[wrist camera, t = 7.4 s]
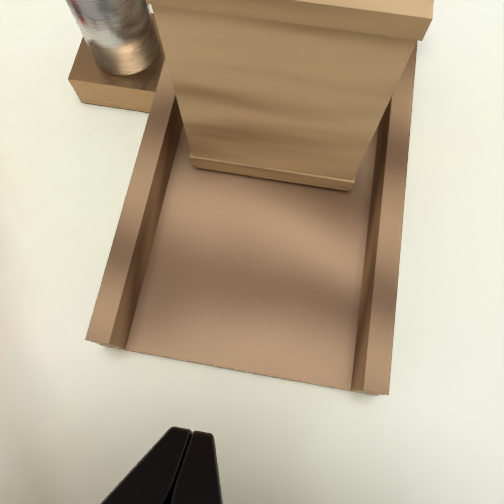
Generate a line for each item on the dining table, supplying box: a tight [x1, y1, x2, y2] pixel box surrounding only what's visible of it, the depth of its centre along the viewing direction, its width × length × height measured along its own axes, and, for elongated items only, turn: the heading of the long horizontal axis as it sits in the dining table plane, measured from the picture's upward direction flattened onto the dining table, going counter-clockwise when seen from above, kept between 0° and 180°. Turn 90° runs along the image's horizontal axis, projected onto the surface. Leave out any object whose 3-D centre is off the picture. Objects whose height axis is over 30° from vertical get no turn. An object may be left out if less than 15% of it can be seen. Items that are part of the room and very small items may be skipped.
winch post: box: [66, 0, 165, 113], centre depth 23 cm, size 6×5×8 cm
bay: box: [85, 42, 417, 395], centre depth 21 cm, size 20×13×7 cm, turn 170°
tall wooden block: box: [146, 0, 434, 191], centre depth 19 cm, size 8×8×11 cm
